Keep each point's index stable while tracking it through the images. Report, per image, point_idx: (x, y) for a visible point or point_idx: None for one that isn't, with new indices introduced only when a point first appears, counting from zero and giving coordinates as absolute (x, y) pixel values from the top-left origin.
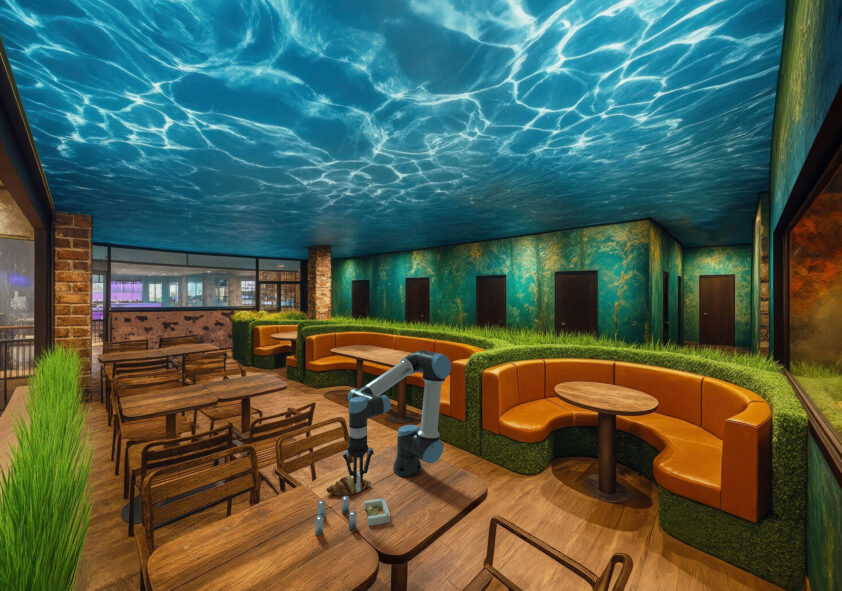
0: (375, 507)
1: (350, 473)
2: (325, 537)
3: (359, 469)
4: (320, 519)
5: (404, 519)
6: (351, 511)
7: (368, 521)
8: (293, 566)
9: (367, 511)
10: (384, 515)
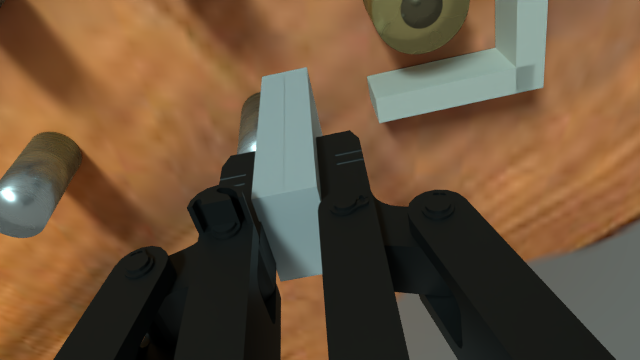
0: (444, 7)
1: (168, 355)
2: (114, 185)
3: (322, 255)
4: (31, 229)
5: (628, 39)
6: (249, 149)
7: (376, 113)
8: (41, 332)
9: (370, 16)
10: (500, 90)
